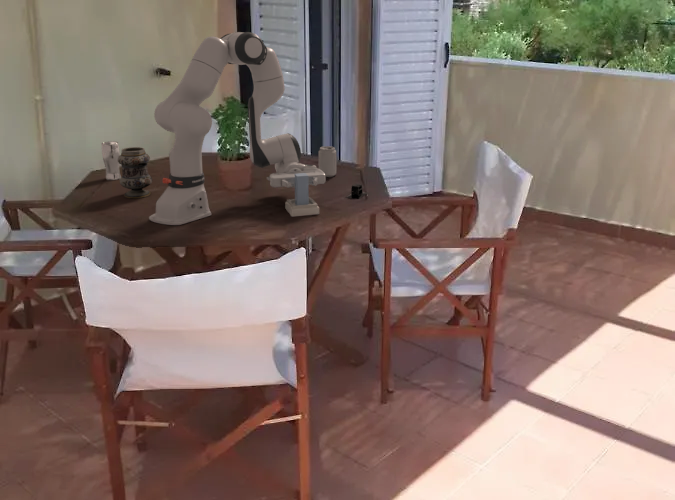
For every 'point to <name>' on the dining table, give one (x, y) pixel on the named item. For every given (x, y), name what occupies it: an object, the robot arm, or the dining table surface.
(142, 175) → the apothecary jar
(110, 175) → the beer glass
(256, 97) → the robot arm
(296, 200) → the pillar
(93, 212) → the dining table surface
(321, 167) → the can
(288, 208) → the footing
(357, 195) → the black box
